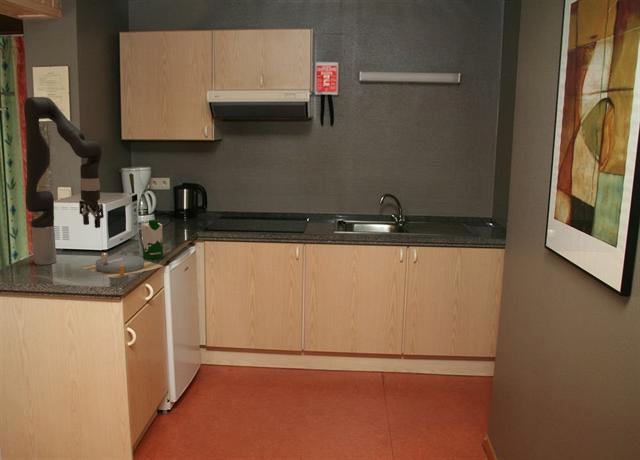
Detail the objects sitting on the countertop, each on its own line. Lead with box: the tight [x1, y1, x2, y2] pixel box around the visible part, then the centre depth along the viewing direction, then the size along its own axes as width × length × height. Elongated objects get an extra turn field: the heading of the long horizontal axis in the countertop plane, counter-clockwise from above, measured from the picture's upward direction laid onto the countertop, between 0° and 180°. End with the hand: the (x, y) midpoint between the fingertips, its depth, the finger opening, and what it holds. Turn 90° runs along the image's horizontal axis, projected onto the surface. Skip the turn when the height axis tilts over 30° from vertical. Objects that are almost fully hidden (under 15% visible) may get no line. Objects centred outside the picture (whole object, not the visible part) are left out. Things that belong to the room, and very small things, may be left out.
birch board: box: [79, 260, 166, 279], centre depth 243 cm, size 26×26×6 cm
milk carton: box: [140, 219, 164, 261], centre depth 259 cm, size 9×9×20 cm
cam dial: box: [95, 252, 145, 273], centre depth 241 cm, size 20×20×8 cm
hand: (91, 226), depth 232 cm, fingers open, 8 cm apart
